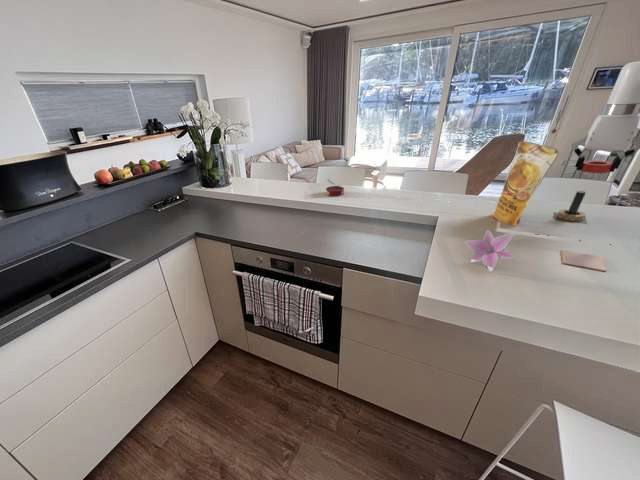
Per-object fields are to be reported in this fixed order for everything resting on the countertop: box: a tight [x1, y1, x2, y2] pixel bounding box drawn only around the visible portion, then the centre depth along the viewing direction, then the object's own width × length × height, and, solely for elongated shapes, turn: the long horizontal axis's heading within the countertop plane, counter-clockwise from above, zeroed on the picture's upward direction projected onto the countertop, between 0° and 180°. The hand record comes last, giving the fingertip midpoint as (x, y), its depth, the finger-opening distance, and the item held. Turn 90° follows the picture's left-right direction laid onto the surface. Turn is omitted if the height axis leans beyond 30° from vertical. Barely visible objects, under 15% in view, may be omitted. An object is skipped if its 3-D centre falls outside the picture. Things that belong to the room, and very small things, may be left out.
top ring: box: [579, 160, 613, 174], centre depth 95 cm, size 7×7×2 cm
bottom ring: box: [557, 208, 586, 222], centre depth 106 cm, size 7×7×2 cm
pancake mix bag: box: [492, 140, 559, 227], centre depth 105 cm, size 7×19×28 cm, turn 170°
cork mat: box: [560, 249, 607, 272], centre depth 84 cm, size 9×9×1 cm
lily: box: [464, 229, 515, 269], centre depth 86 cm, size 12×12×10 cm
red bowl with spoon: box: [325, 178, 345, 197], centre depth 159 cm, size 11×10×10 cm
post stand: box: [553, 190, 588, 225], centre depth 105 cm, size 9×9×11 cm
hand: (594, 169), depth 95 cm, fingers closed on top ring, 7 cm apart
